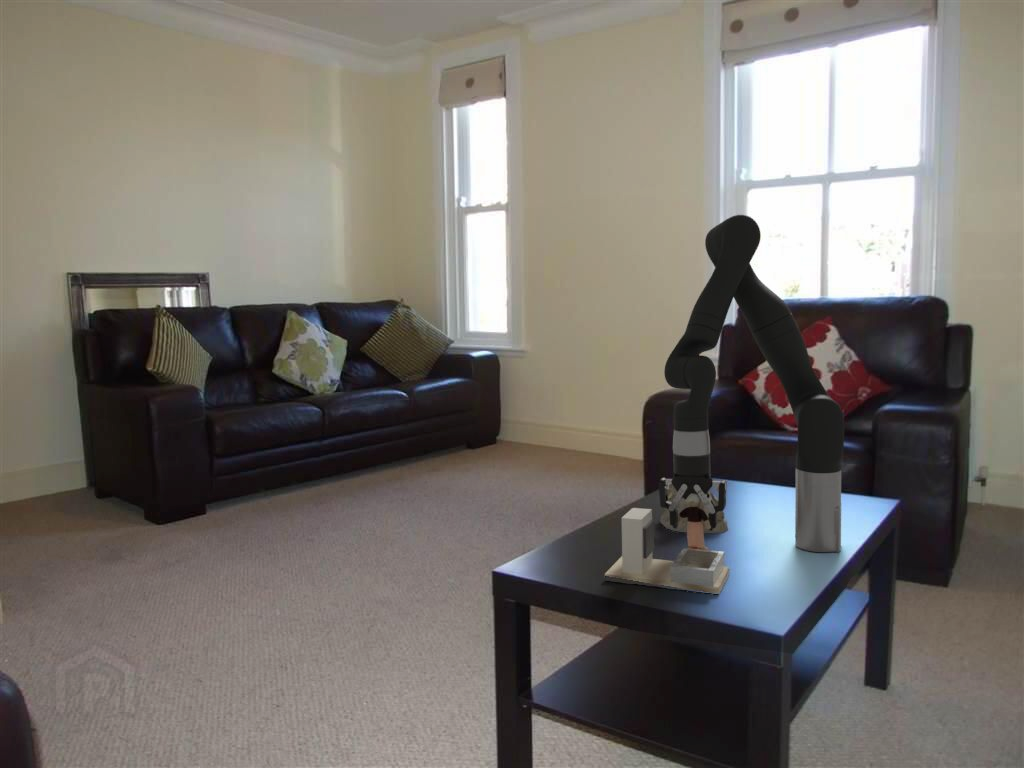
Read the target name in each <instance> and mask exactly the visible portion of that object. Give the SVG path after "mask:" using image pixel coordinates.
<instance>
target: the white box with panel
mask: <svg viewBox="0 0 1024 768" xmlns="http://www.w3.org/2000/svg"><path fill="white" fill-rule="evenodd" d="M654 523H655V522H654V520H653V509H652V508H640V507H632V508H630V510H629V511H628V512H626V513H625V514H624V515H623V516H621V556H622V572H623V573H631V574H640V575H643V573H644V572H645V571H646V570H647V568H648V567H649V566H650V565H651V563H652V562H653V559H654V558H653V556H654V555H653V552H654V550H655V526H654V525H655V524H654Z"/></svg>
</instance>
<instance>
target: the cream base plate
mask: <svg viewBox="0 0 1024 768" xmlns="http://www.w3.org/2000/svg"><path fill="white" fill-rule="evenodd" d="M674 561H675V560H668V559H660V558H659V559H657V558H653V562H652V563H651V565H650V566H649V567H648V568H647V570H646V571H645V572H644V573H643V575H640V574H631V573H623V572H622V555H621V556H620V557H619V558H618V560H616V561H615V563H613V565H612V566H611V567H610V568H609V569H608V570H607V571H606V572H605V573H604V577H605V576H609V577H616V578H622V579H627V580H633V581H639V582H644V583H650V584H655V585H656V584H657V585H664V586H671V587H677V588H682V589H689V590H695V591H703V592H709V593H717V594H719V593H720V594H721V592H722V590H723V588H724V586H725V584H726V582H727V580H728V578H729V576H730V574H731V573H730V570H731V569H730V566H725V565H724V568H723V570H722V572H721V574H720V576H719V577H718V579H717V581H716V583H715V585H714V587H711V586H702V585H694V584H685V583H677V582H671V573H670V566H671V565H672V564H673V562H674ZM687 566H688V567H697V568H706V569H709V568H710V567H709V566H700V565H691V564H688V565H687ZM729 573H730V574H729ZM728 575H729V576H728ZM727 577H728V578H727ZM726 579H727V580H726ZM725 581H726V582H725ZM724 583H725V584H724ZM723 585H724V586H723ZM722 587H723V588H722ZM721 589H722V590H721ZM720 591H721V592H720ZM720 594H719V595H720Z"/></svg>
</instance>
